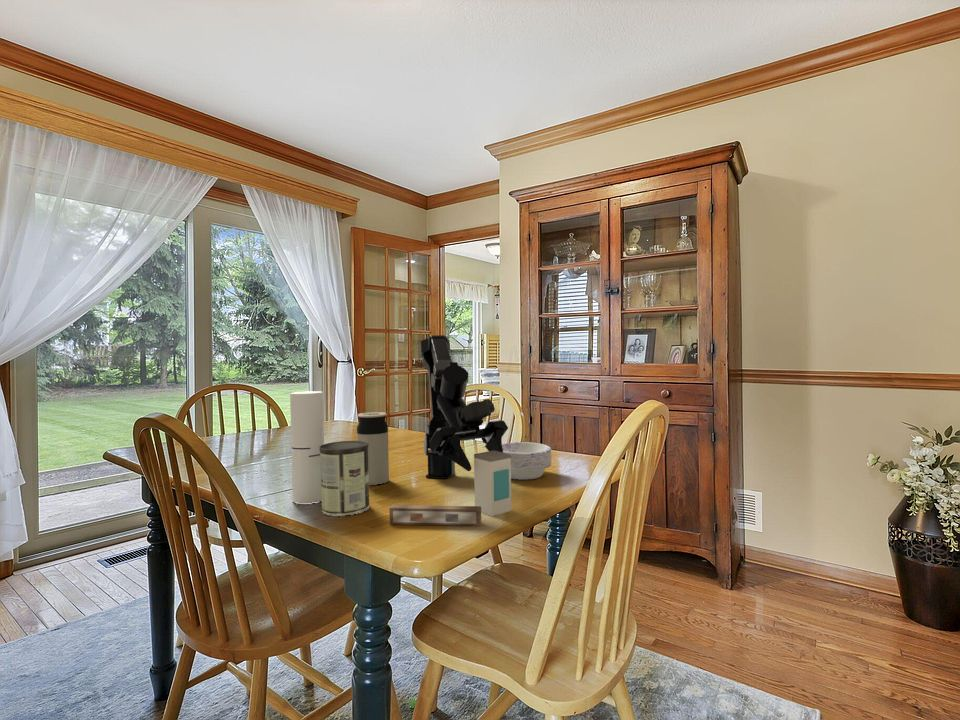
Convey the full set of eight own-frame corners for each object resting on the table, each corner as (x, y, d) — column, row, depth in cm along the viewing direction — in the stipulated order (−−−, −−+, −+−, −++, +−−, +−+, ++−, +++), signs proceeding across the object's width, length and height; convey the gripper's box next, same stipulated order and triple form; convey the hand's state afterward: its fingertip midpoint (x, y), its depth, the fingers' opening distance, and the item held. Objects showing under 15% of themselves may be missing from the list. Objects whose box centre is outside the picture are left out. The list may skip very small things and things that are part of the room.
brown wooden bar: (388, 525, 98) (388, 508, 98) (392, 520, 101) (392, 504, 101) (480, 527, 96) (479, 510, 96) (481, 522, 99) (481, 506, 99)
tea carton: (475, 510, 107) (474, 454, 106) (494, 504, 110) (493, 450, 110) (492, 516, 102) (491, 458, 102) (512, 510, 106) (511, 454, 106)
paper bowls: (546, 484, 126) (546, 453, 126) (488, 481, 130) (488, 450, 130) (555, 470, 140) (555, 442, 140) (503, 468, 145) (502, 440, 145)
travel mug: (363, 487, 126) (361, 416, 126) (354, 481, 133) (352, 413, 132) (393, 483, 130) (392, 414, 130) (383, 476, 137) (381, 411, 136)
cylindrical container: (294, 497, 119) (292, 391, 118) (326, 494, 120) (323, 390, 120) (290, 506, 112) (288, 394, 111) (323, 503, 113) (321, 393, 113)
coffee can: (342, 500, 116) (341, 439, 115) (379, 505, 111) (378, 442, 111) (310, 513, 106) (308, 447, 106) (349, 519, 102) (347, 450, 102)
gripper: (435, 390, 106) (468, 449, 97) (502, 385, 117) (536, 438, 109) (416, 424, 112) (445, 482, 103) (481, 416, 123) (512, 468, 115)
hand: (487, 466), depth 107 cm, fingers open, 9 cm apart
